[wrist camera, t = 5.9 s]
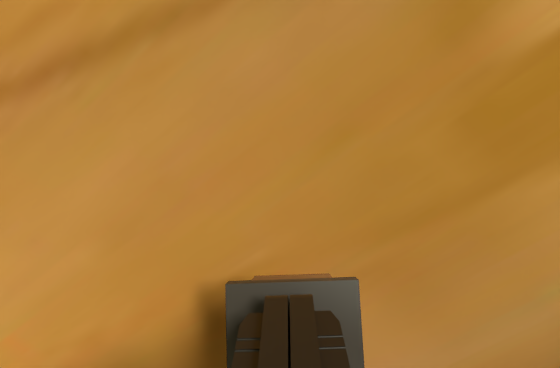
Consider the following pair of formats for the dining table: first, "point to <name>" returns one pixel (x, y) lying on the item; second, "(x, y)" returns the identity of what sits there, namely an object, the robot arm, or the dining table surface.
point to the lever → (326, 296)
